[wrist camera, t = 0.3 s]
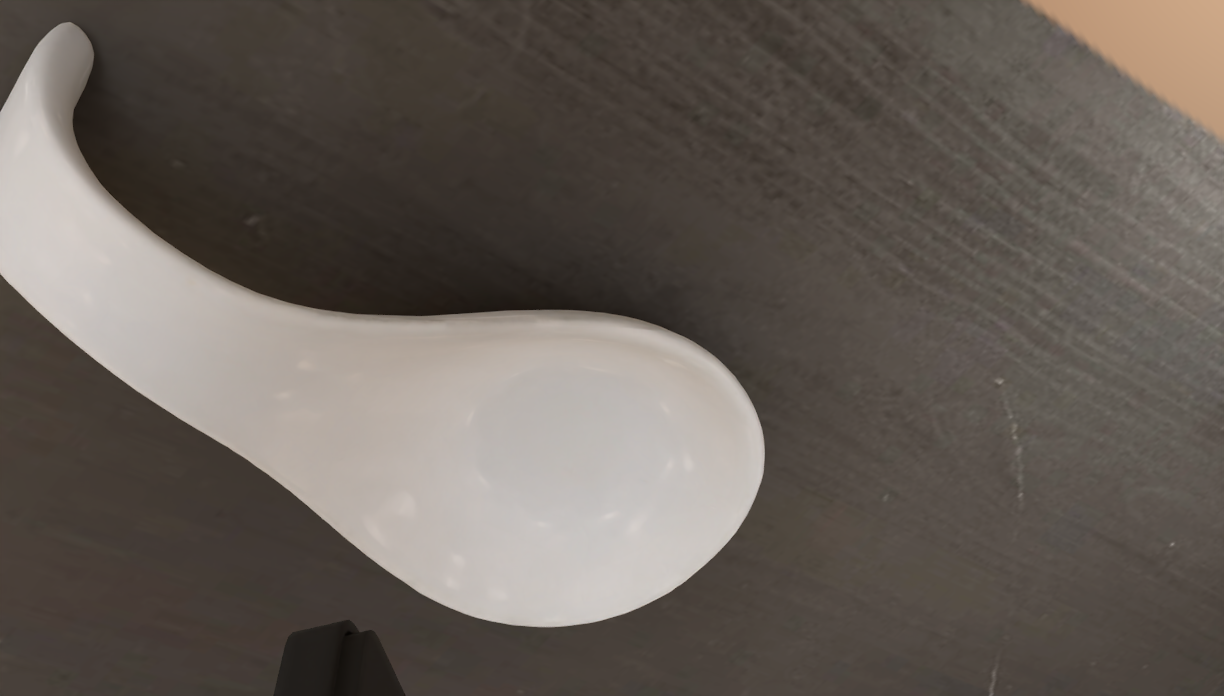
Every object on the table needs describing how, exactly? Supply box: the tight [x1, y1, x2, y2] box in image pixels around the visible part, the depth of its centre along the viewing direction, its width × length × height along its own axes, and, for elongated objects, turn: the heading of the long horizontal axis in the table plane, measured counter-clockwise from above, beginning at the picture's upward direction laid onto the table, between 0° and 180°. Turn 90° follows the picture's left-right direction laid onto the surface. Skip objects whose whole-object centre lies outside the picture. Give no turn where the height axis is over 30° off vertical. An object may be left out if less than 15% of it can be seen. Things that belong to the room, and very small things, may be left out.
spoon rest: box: [0, 22, 765, 627], centre depth 27 cm, size 24×12×7 cm, turn 51°
